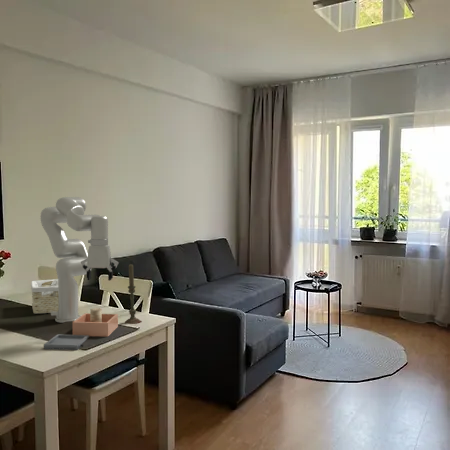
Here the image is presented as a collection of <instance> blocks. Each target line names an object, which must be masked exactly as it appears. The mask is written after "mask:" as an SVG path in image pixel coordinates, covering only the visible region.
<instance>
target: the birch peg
mask: <svg viewBox="0 0 450 450" xmlns="http://www.w3.org/2000/svg"><path fill="white" fill-rule="evenodd" d="M102 310H103V309H102V308H100V307H94V308H90V311H89V312H90V322H102V314H103V313H102V312H103V311H102Z"/></svg>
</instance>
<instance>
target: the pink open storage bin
mask: <svg viewBox="0 0 450 450" xmlns="http://www.w3.org/2000/svg"><path fill="white" fill-rule="evenodd" d="M117 328H119V314H118V313H102V322H90V313H87V312H86V313H83V314H82V315H80V317H79V318H78V319H76V320H75V321H72V335H89V337H109V336H110V335H111V334H112V333H113V332H114V331H115V330H116V329H117Z"/></svg>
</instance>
